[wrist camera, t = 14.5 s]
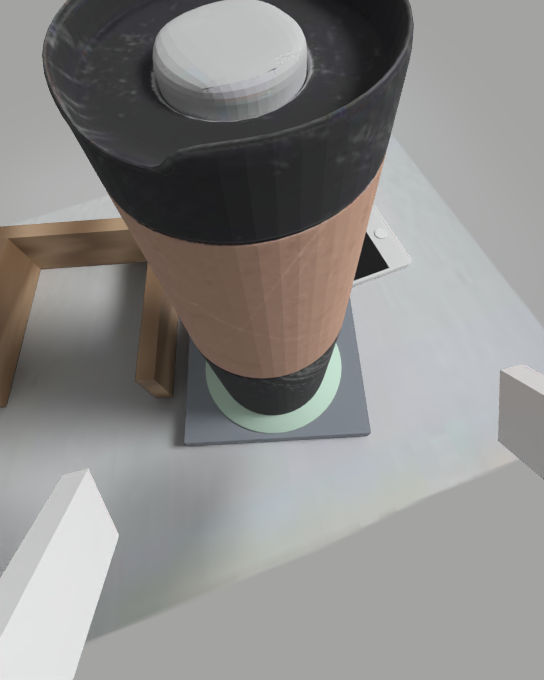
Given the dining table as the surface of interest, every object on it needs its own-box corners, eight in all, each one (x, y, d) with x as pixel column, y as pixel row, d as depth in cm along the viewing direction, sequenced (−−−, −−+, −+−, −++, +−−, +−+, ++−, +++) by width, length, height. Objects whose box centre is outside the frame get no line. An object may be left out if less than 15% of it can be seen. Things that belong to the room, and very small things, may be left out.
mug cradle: (-11, 407, 27) (-58, 392, 23) (30, 258, 32) (-4, 227, 29) (172, 396, 26) (154, 379, 23) (182, 247, 32) (168, 214, 28)
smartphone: (410, 268, 30) (414, 261, 30) (233, 333, 29) (231, 328, 28) (370, 207, 33) (372, 199, 32) (207, 264, 32) (204, 257, 31)
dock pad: (188, 446, 25) (183, 442, 24) (194, 315, 29) (190, 306, 28) (367, 435, 25) (371, 432, 23) (347, 305, 29) (350, 296, 28)
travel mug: (309, 305, 27) (343, -96, 9) (344, 402, 24) (501, 91, 6) (208, 331, 27) (33, -36, 9) (230, 434, 24) (30, 199, 6)
